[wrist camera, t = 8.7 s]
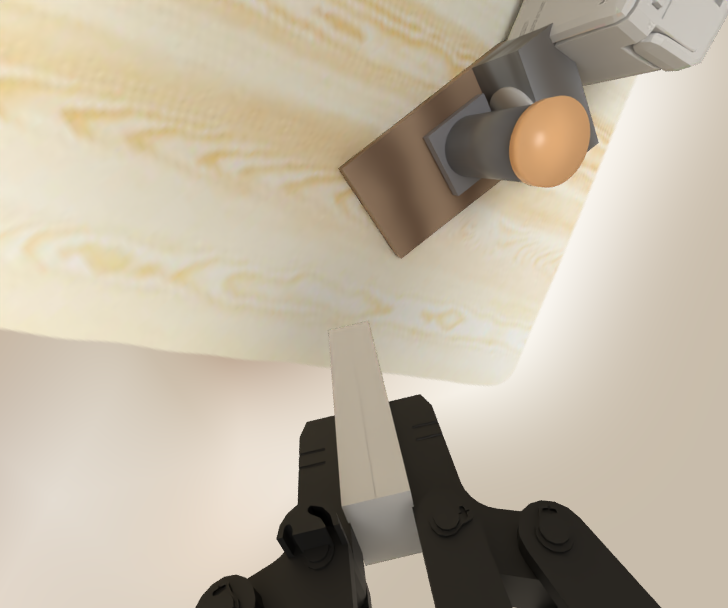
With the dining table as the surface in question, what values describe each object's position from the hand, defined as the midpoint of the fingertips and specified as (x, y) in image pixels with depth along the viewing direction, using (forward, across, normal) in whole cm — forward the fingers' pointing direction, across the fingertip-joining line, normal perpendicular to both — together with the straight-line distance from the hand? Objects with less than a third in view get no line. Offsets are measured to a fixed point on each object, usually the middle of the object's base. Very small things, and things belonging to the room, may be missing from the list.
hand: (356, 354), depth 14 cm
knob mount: (+25, +11, +1) cm, 28 cm away
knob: (+24, +13, +1) cm, 27 cm away
